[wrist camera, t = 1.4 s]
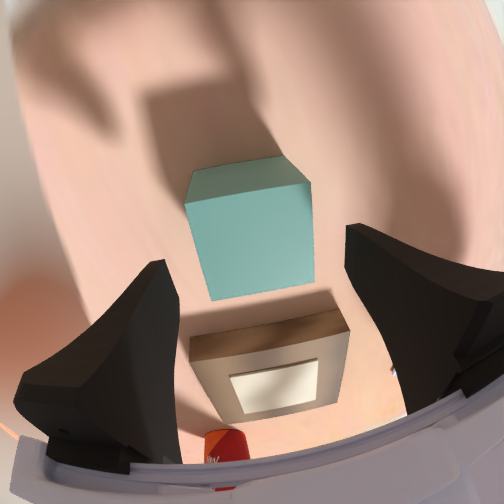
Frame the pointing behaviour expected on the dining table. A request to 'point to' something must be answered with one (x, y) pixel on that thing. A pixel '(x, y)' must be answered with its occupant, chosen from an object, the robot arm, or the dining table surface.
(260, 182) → the teal block
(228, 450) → the paper cup
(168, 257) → the dining table surface
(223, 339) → the walnut base
